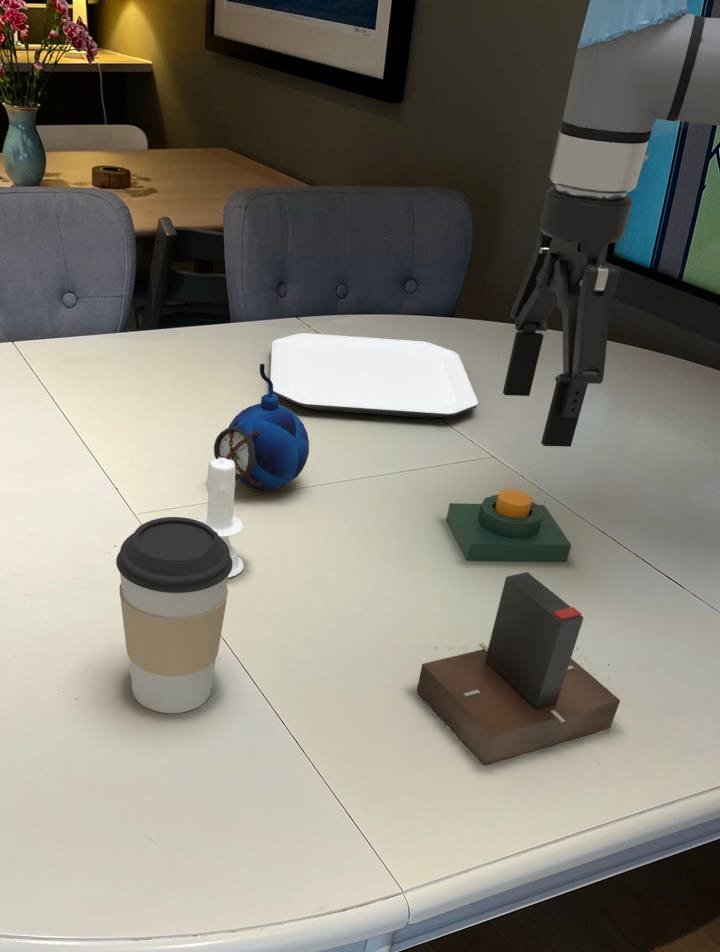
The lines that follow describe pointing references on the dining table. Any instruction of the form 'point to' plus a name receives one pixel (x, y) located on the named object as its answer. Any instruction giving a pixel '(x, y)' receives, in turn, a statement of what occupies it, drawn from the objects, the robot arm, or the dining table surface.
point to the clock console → (511, 707)
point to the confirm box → (506, 534)
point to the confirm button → (513, 504)
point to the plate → (370, 375)
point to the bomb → (265, 443)
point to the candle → (223, 506)
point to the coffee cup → (173, 610)
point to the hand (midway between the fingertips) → (534, 418)
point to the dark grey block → (533, 639)
